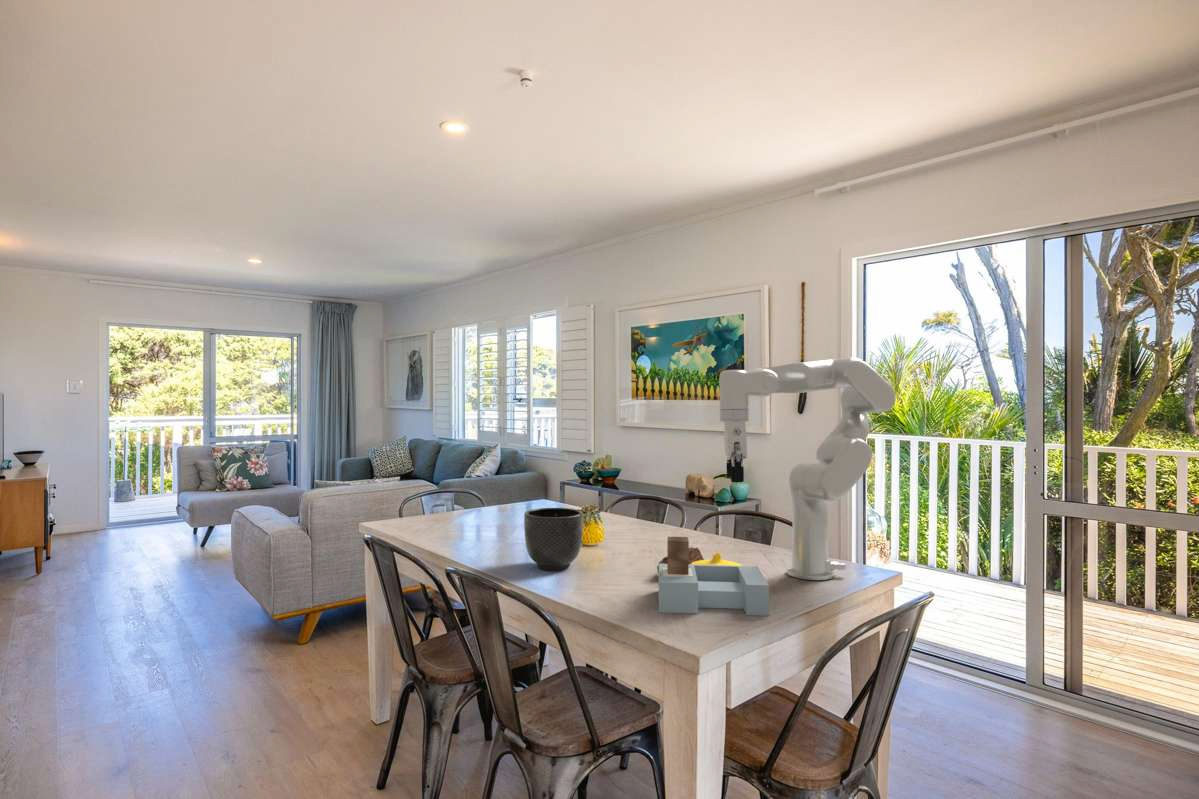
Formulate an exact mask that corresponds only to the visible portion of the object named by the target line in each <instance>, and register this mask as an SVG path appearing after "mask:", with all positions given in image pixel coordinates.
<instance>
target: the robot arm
mask: <svg viewBox="0 0 1199 799" xmlns="http://www.w3.org/2000/svg"><path fill="white" fill-rule="evenodd" d="M718 383H719V385H718V386H719V422H722V423H723V424H724V425H723V426H724V428H723V431H724V432H723V433H724V438H723V439H724V453H725V456H726V477H727V478H730V481H731V483H744V481H745V480H744V479H745V478H744V474H745V472H744V471H745V470H744V462H743V461H744V460H746V459H747V458H748V443H747V442H748V441H747V426H746V422H749V397H755V398H756V397H758V398H762V397H763V398H764V397H768V396H771V395H773V394H781V393H782V394H801V393H811V392H818V391H826V390H833V389H843V390H842V391H841V394H840V405H841V412H842V413H841V419H840V421H839V422H838V423H837V425H836V426H835V427H834V428H833V430H832V431H831V432H830V433H829V434H828V435H827V436H826V437H825V438H824V440H822V442H821V443H820V444H819V446H818V448H817V449H816V452H815V456H816V460H817V463H816V462H813V461H812V462H810V461H806V462H805V461H804V462H799V463H797V464H796V465H795V466H793V468H792V469H791V471H790V473H789V488H790V489H789V490H790V494H791V501H792V503H791V504H792V535H791V536H792V537H791V538H792V544H791V545H792V546H791V547H792V550H791V551H792V552H791V553H792V554H791V555H792V556H791V558H792V559H791V563H792V564H791V565H790V566H788V567H787V568H786V574H787V575H788V576H789V577H792V578H797V579H800V580H805V581H806V580H807V581H828V580H830V579H833V578H834V570H838V571H846V570H847V569H846V568H847V565H846V563H845V562H838V561H831V560H830V559H829V554H828V552H829V546H828V545H829V512H828V511H829V510H828V509H829V508H828V506H827V502H826V501H829V502H835V501H839V500H841V499H842V498H843V497H845V496H846V495H847V494H848V493H849V492H850V491H851V489H852V488H853V487H854V486H855V485H856V484H857V482H858V481H859V480H860V479H861V478H862V477H863V476H864V474H865V473H866V471H868V469H869V467H870V465H871V462H872V459H873V458H872V457H873V453H872V449H871V447H870V445H869V444H868V442H866V441H865V440H866V439H867V437H868V435H869V433H870V424H869V418H868V413H876V414H877V413H885V412H888V411H890V410H891V409H892V408H893V407H894V405H895V403H896V393H895V390H894V388H893V386H892V385H891V384H890V383H889V382H888V381H887V380H886V379H885V378H884V377H883V376H881V374H879V373H878V372H877V371H876V370H875V369H874V368H873V367H872V366H870V365H869V364H868V363H867V362H866V361H863V360H862V359H860V358H859V357H842V358H839V357H838V358H830V359H829V358H828V359H820V360H811V361H801V362H792V363H788V364H783V365H775V366H769V367H759V368H749V369H727V370H726V369H724V370H722V371H721V372H720V374H719V382H718ZM743 459H744V460H743Z"/></svg>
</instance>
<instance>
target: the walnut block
mask: <svg viewBox="0 0 1199 799" xmlns="http://www.w3.org/2000/svg"><path fill="white" fill-rule="evenodd" d="M689 544H690V542H689V537H688V536H667V547H666V548H667V555H666V557H667V572H668V574H682V575H688V571H689V548H690V547H689Z"/></svg>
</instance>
